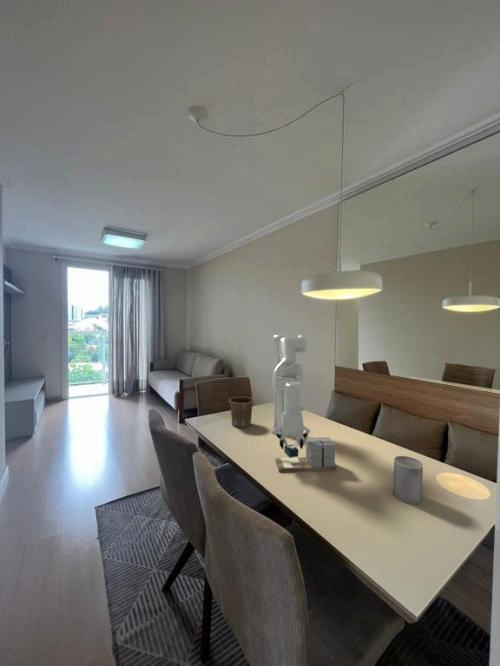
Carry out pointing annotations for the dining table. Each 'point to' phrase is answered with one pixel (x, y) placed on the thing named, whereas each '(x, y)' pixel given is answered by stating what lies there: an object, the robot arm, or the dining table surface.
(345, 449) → the dining table surface
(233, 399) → the plant pot
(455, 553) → the dining table surface
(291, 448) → the watch
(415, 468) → the pillar candle
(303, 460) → the wood and grey tray
